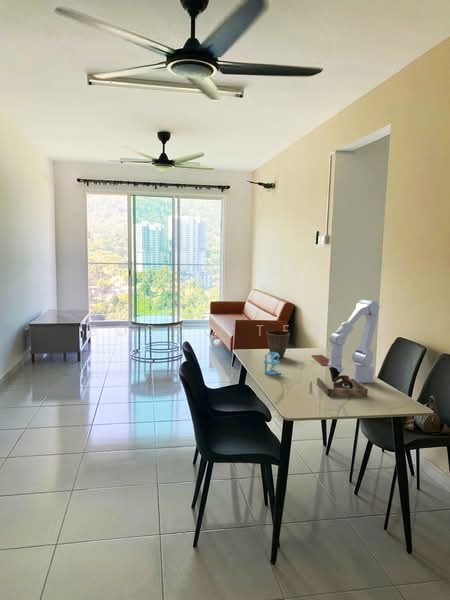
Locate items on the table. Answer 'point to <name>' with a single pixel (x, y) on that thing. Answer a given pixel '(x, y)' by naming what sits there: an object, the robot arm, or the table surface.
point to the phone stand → (272, 362)
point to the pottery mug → (343, 382)
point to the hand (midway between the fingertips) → (334, 381)
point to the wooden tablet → (321, 359)
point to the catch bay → (344, 390)
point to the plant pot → (278, 342)
